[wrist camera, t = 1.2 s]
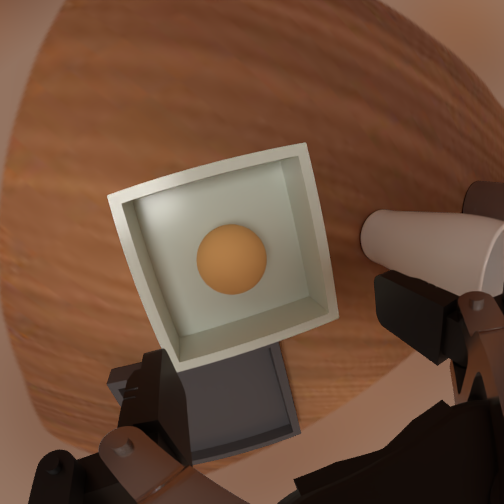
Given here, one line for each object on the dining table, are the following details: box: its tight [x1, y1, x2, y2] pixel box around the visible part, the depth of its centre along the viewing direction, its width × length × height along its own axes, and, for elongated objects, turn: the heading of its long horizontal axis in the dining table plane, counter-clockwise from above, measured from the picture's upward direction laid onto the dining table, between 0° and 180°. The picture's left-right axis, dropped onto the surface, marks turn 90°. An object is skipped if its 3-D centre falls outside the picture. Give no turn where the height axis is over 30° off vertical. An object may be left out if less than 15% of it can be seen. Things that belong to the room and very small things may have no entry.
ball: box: [196, 224, 267, 295], centre depth 21 cm, size 5×5×5 cm
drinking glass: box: [361, 209, 504, 297], centre depth 20 cm, size 7×7×15 cm
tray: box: [107, 342, 301, 465], centre depth 26 cm, size 16×14×2 cm
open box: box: [107, 143, 339, 372], centre depth 22 cm, size 14×14×5 cm
